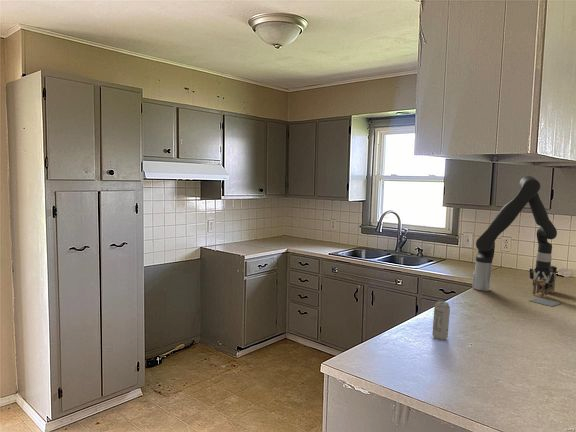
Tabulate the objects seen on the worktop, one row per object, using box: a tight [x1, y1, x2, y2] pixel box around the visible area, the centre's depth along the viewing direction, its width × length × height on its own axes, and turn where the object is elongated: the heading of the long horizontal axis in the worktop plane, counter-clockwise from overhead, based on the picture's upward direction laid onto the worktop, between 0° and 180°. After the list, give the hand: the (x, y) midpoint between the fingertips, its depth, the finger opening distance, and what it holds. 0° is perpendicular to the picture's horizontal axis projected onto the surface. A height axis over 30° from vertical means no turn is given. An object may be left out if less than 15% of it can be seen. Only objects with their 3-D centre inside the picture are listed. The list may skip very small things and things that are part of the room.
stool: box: [532, 280, 549, 297], centre depth 250 cm, size 6×6×8 cm
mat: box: [528, 297, 562, 308], centre depth 236 cm, size 12×12×1 cm
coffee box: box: [536, 265, 558, 294], centre depth 262 cm, size 9×6×16 cm
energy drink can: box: [431, 300, 451, 341], centre depth 174 cm, size 6×6×15 cm
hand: (540, 287), depth 250 cm, fingers closed on stool, 6 cm apart
